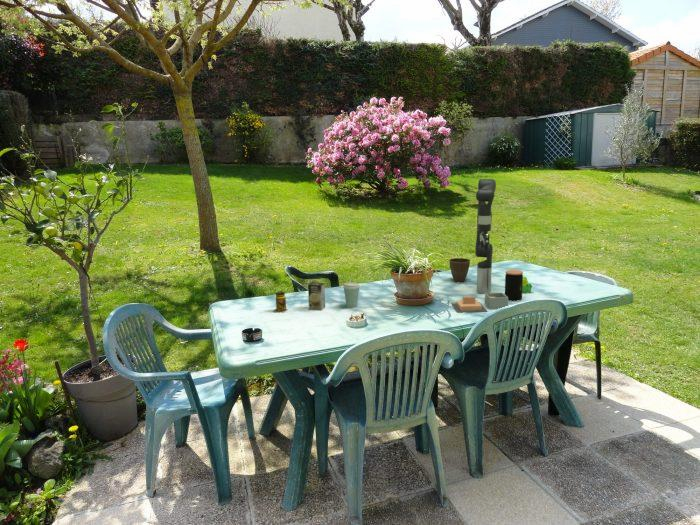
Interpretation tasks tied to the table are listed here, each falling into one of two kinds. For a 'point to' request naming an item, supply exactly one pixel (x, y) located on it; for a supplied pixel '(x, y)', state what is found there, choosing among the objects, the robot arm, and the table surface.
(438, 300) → the table surface
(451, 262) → the plant pot
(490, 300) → the storage box
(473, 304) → the lid
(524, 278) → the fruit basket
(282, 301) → the condiment
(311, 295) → the coffee box
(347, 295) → the disposable coffee cup
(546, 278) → the table surface
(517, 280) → the coffee jar
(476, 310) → the rubber mat
